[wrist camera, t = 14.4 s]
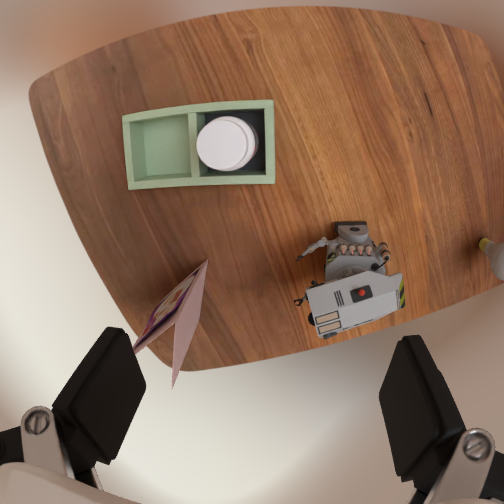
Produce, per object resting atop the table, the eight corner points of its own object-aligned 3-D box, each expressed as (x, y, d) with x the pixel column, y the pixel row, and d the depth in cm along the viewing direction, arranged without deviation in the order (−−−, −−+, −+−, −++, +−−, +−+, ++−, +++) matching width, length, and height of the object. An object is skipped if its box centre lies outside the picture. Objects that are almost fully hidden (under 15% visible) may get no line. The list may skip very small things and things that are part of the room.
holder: (138, 115, 34) (121, 115, 30) (274, 103, 33) (273, 99, 28) (143, 182, 38) (128, 190, 34) (275, 177, 36) (275, 183, 32)
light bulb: (488, 258, 37) (520, 287, 28) (466, 257, 38) (499, 288, 29) (495, 227, 35) (532, 252, 26) (474, 225, 36) (510, 251, 27)
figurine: (291, 222, 39) (297, 276, 25) (375, 220, 37) (419, 271, 24) (292, 282, 42) (296, 354, 29) (369, 279, 41) (401, 346, 27)
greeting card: (203, 254, 42) (169, 316, 28) (239, 289, 43) (222, 360, 30) (157, 296, 46) (117, 359, 32) (191, 326, 47) (163, 394, 34)
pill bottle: (258, 164, 35) (251, 177, 26) (213, 163, 36) (190, 176, 27) (260, 118, 33) (253, 115, 24) (213, 118, 33) (190, 115, 24)
